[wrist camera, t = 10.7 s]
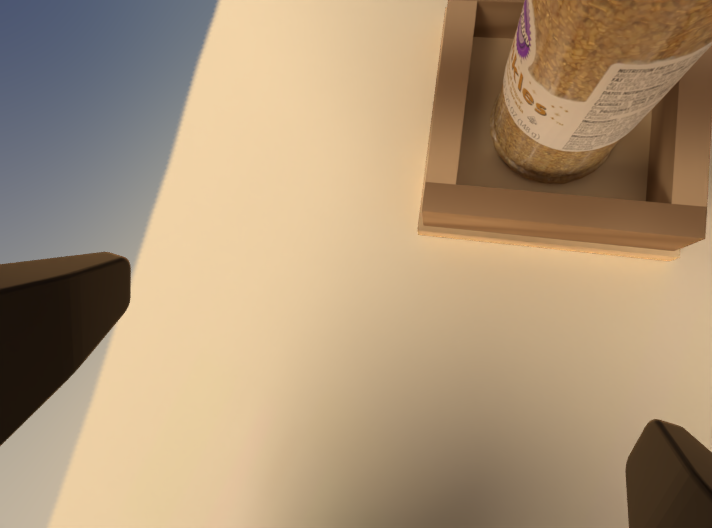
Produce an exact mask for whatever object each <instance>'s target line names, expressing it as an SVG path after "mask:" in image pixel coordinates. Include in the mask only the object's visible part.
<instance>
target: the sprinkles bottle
mask: <svg viewBox="0 0 712 528" xmlns="http://www.w3.org/2000/svg"><path fill="white" fill-rule="evenodd" d="M711 46H712V0H525V1H524V5H523V8H522V12H521V16H520V19H519V23H518V27H517V30H516V33H515V37H514V40H513V44H512V47H511V50H510V54H509V57H508V60H507V64H506V67H505V72H504V79H503V85H502V89H501V91H500V93H499V95H498V96H497V98H496V100H495V102H494V105H493V109H492V112H491V115H490V136H491V138H492V141H493V144H494V147H495V149H496V151H497V153H498V154H499V155H500V157H501V158H502V159H503V161H504V162H505V163H506V164H507V165H508V166H509V167H510V169H512V170H513V171H515V172H517V173H518V174H520V175H521V176H523V177H525V178H527V179H532V180H535V181H538V182H542V183H549V184H552V183H555V184H565V183H568V182H571V181H574V180H578V179H581V178H583V177H585V176H587V175H589V174H590V173H592V172H594V171H595V170H596V169H597V168H598V167H600V166H601V165H602V164H603V163H604V162H605V161H606V160H607V158H608V157H609V155H610V153H611V151H612V149H613V148H614V147H615V145H616V144H617V143H618V142H619V140H620V139H621V138H622V137H624V136H625V135H627V134H628V133H629V132H630V131H631V130H632V129H633V128H635V127H636V125H637V124H638V123H639V122H640V121H641V120H642V119H643V118H644V117H645V116H646V115H647V114H648V113H649V112H650V111H651V110H652V109H653V108H654V107H655V106H656V105H657V103H658V102H659V101H660V100H661V99H662V98H663V97H664V96H665V95H666V94H667V93H668V92H669V91H670V89H671V88H672V87H673V86H674V85H675V84H676V83H677V82H678V81H679V80H680V79H681V78H682V77H683V75H684V74H685V73H686V72H687V71H688V70H689V69H690V68H691V67H692V66H693V65H694V64H695V63H696V61H697V60H698V59H699V58H700V57H701V56H702V55H703V54H704V53H705V52H706V51H707V50H708V49H709V48H710V47H711Z"/></svg>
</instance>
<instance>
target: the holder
mask: <svg viewBox="0 0 712 528" xmlns="http://www.w3.org/2000/svg"><path fill="white" fill-rule="evenodd" d="M524 1H525V0H448V6H447V7H446V8H445V16H444V24H443V32H442V40H441V48H440V56H439V64H438V71H437V79H436V87H435V95H434V103H433V111H432V119H431V127H430V135H429V143H428V151H427V159H426V167H425V175H424V183H423V190H422V198H421V206H420V214H419V222H418V235H427V236H436V237H446V238H455V239H465V240H474V241H484V242H493V243H502V244H512V245H521V246H531V247H540V248H550V249H559V250H569V251H578V252H587V253H597V254H606V255H616V256H625V257H635V258H644V259H654V260H663V261H672V260H674V259H677V258H680V249H681V248H683V247H686V246H688V245H691V244H693V243H696V242H698V241H701V240H703V239H705V233H706V215H707V196H708V178H709V159H710V141H711V122H712V46H711V47H710V48H709V49H708V50H707V51H706V52H705V53H704V54H703V55H702V56H701V57H700V58H699V59H698V60H697V61H696V63H695V64H694V65H693V66H692V67H691V68H690V69H689V70H688V71H687V72H686V73H685V74H684V75H683V77H682V78H681V79H680V80H679V81H678V82H677V83H676V84H675V85H674V86H673V87H672V88H671V89H670V91H669V92H668V93H667V94H666V95H665V96H664V97H663V98H662V99H661V100H660V101H659V102H658V103H657V105H656V106H655V107H654V108H653V109H652V110H651V111H650V112H649V113H648V114H647V115H646V116H645V117H644V118H643V119H642V120H641V121H640V122H639V123H638V124H637V125H636V127H635V128H633V129H632V130H631V131H630V132H629V133H628V134H627V135H625V136H624V137H622V138H621V139H620V140H619V142H618V143H617V144H616V145H615V147H614V148H613V149H612V151H611V153H610V155H609V157H608V158H607V160H606V161H605V162H604V163H603V164H602V165H601V166H600V167H598V168H597V169H596V170H595V171H594V172H592V173H590V174H589V175H587V176H585V177H583V178H581V179H578V180H574V181H571V182H568V183H565V184H555V183H552V184H549V183H542V182H538V181H535V180H532V179H527V178H525V177H523V176H521V175H520V174H518V173H517V172H515V171H513V170H512V169H510V167H509V166H508V165H507V164H506V163H505V162H504V161H503V159H502V158H501V157H500V155H499V154H498V153H497V151H496V149H495V147H494V144H493V141H492V138H491V136H490V115H491V112H492V109H493V105H494V102H495V100H496V98H497V96H498V95H499V93H500V91H501V89H502V85H503V79H504V72H505V67H506V64H507V60H508V57H509V54H510V50H511V47H512V44H513V40H514V37H515V33H516V30H517V27H518V23H519V19H520V16H521V12H522V8H523V5H524Z"/></svg>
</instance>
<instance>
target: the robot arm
mask: <svg viewBox="0 0 712 528" xmlns="http://www.w3.org/2000/svg"><path fill="white" fill-rule="evenodd" d="M130 287H131V267H130V263H129V261H128V259H127V258H125V257H123V256H119V255H116V254H113V253H110V252H99V253H91V254H83V255H75V256H66V257H57V258H50V259H41V260H33V261H24V262H16V263H8V264H0V446H1V445H2V444H3V443H4V442H5V441H6V440H7V439H8V438H9V437H10V436H11V435H12V434H13V433H14V432H15V431H16V430H17V429H18V428H19V427H20V426H21V425H22V424H23V423H24V422H25V421H26V420H27V419H28V418H29V417H30V416H31V415H32V414H33V413H34V412H35V411H36V410H37V409H38V408H40V407H41V406H42V405H43V404H44V403H45V402H46V401H47V400H48V399H49V398H50V397H51V396H52V395H53V394H54V393H55V392H56V391H57V390H58V389H59V388H60V387H61V386H62V385H63V384H64V383H65V382H66V381H67V380H68V379H69V378H70V377H71V376H72V375H73V374H74V373H75V371H76V370H77V369H78V368H79V367H80V366H81V364H82V363H83V362H84V361H85V360H86V359H87V357H88V356H89V355H90V354H91V353H92V351H93V350H94V349H95V348H96V347H97V345H98V344H99V343H100V342H101V340H102V339H103V338H104V337H105V336H106V335H107V333H108V332H109V331H110V330H111V329H112V327H113V326H114V325H115V324H116V322H117V321H118V320H119V319H120V318H121V316H122V315H123V314H124V313H125V311H126V310H127V308H128V306H129V303H130ZM626 487H627V502H628V518H629V528H712V452H711V451H709V450H708V449H707V448H706V447H705V446H704V445H703V444H701V443H700V442H699V441H698V440H697V439H696V438H694V437H693V436H692V435H691V434H690V433H689V432H688V431H686V430H685V429H684V428H683V427H681V426H678V425H675V424H672V423H669V422H665V421H662V420H658V419H654V420H651V421H650V422H649V423H648V424H647V425H646V427H645V428H644V430H643V432H642V434H641V435H640V437H639V439H638V441H637V443H636V444H635V446H634V448H633V450H632V452H631V453H630V455H629V457H628V460H627V464H626Z"/></svg>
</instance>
